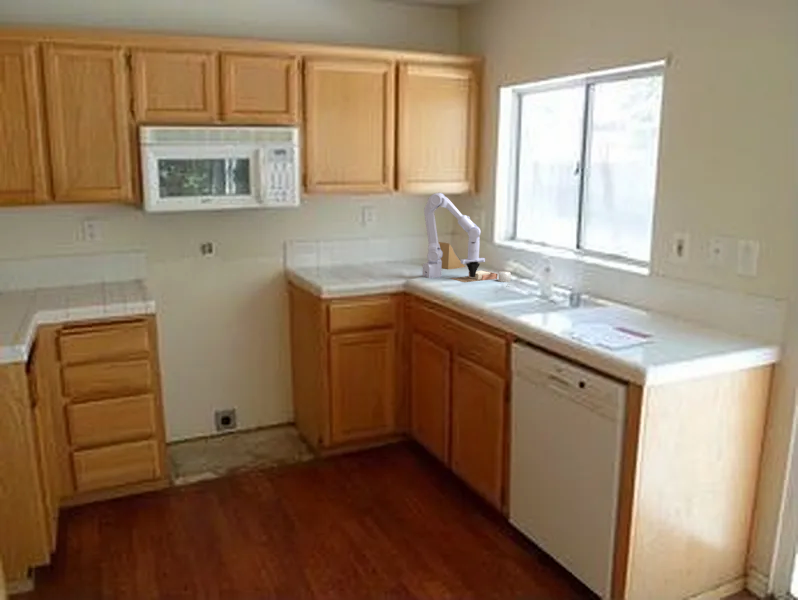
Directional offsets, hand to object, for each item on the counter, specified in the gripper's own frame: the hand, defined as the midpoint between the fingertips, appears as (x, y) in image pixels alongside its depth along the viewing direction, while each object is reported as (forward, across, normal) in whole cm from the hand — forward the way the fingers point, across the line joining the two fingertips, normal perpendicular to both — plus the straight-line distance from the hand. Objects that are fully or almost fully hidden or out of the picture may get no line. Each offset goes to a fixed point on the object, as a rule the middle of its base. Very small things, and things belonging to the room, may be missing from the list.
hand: (472, 276), depth 346 cm
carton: (+1, +5, 0) cm, 5 cm away
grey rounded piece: (+2, +11, -12) cm, 17 cm away
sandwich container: (+3, +19, +40) cm, 44 cm away
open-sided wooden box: (+2, +1, 0) cm, 3 cm away
